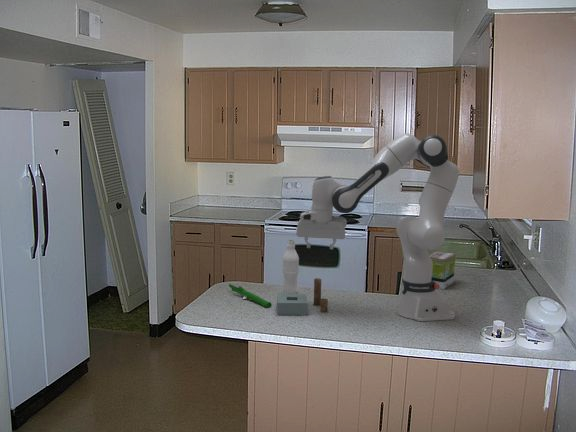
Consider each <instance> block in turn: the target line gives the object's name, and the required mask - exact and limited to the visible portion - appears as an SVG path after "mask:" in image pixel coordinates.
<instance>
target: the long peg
mask: <svg viewBox="0 0 576 432" xmlns="http://www.w3.org/2000/svg"><path fill="white" fill-rule="evenodd" d="M320 299H322V279H321V278H318V277H317V278H314V279H313V305H314V306H316V305H317V306H318V307H320Z"/></svg>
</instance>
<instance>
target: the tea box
mask: <svg viewBox="0 0 576 432" xmlns="http://www.w3.org/2000/svg"><path fill="white" fill-rule="evenodd" d="M429 256H430V258H431V260H432V278H431V280H432V281H434V282H435V283H437V284H439V286H440V288H439V289H438V290H445V289H446V288H447V287H449V286H450V285H452V284H453V283H454V281H455V280H454V279H455V278H454V277H455V267H456V266H455V265H456V254H455V253H451V252H443V251H436V250H435V252H432V253H431V254H429Z"/></svg>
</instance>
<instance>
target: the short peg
mask: <svg viewBox="0 0 576 432" xmlns="http://www.w3.org/2000/svg"><path fill="white" fill-rule="evenodd" d="M328 302H329V299H327V298H323V297H322V298H321V299H320V305H319V307H320V309H319V310H320V311H319V312H320V313H328V308H329V303H328Z"/></svg>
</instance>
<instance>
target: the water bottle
mask: <svg viewBox="0 0 576 432" xmlns="http://www.w3.org/2000/svg"><path fill="white" fill-rule="evenodd" d="M286 246H287V248H286V250H285V252H284V254H283V256H282V274H283V285H282V289H281V291H282V294H299V287H298V275H299V272H300V269H299V268H300V267H299V265H300V264H299V263H300V257H299V254H298V253H297V250H296V249H295V248H296V244H295V240H294V239H288V240H287V244H286Z"/></svg>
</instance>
